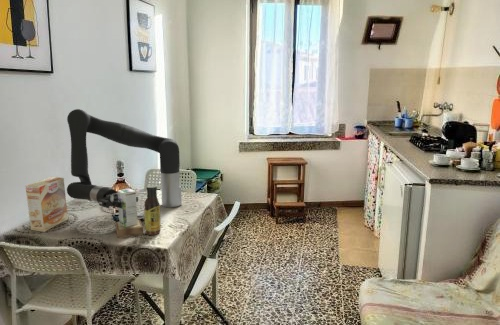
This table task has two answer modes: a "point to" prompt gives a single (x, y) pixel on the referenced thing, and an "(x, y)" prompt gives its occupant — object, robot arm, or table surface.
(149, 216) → the sauce bottle
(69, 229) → the table surface
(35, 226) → the coffeecake box
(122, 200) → the syrup box
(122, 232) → the pedestal
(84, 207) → the table surface
